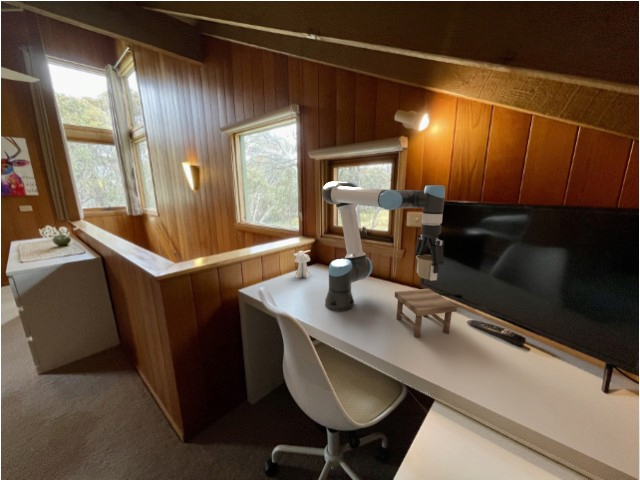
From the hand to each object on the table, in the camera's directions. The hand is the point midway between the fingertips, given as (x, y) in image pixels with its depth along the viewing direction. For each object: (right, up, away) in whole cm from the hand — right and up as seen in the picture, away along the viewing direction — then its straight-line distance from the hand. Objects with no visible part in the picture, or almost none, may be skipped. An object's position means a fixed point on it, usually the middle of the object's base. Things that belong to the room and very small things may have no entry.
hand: (426, 276), depth 105 cm
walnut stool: (0, -23, +5) cm, 23 cm away
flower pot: (0, -1, 0) cm, 1 cm away
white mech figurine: (-57, -10, +66) cm, 88 cm away
